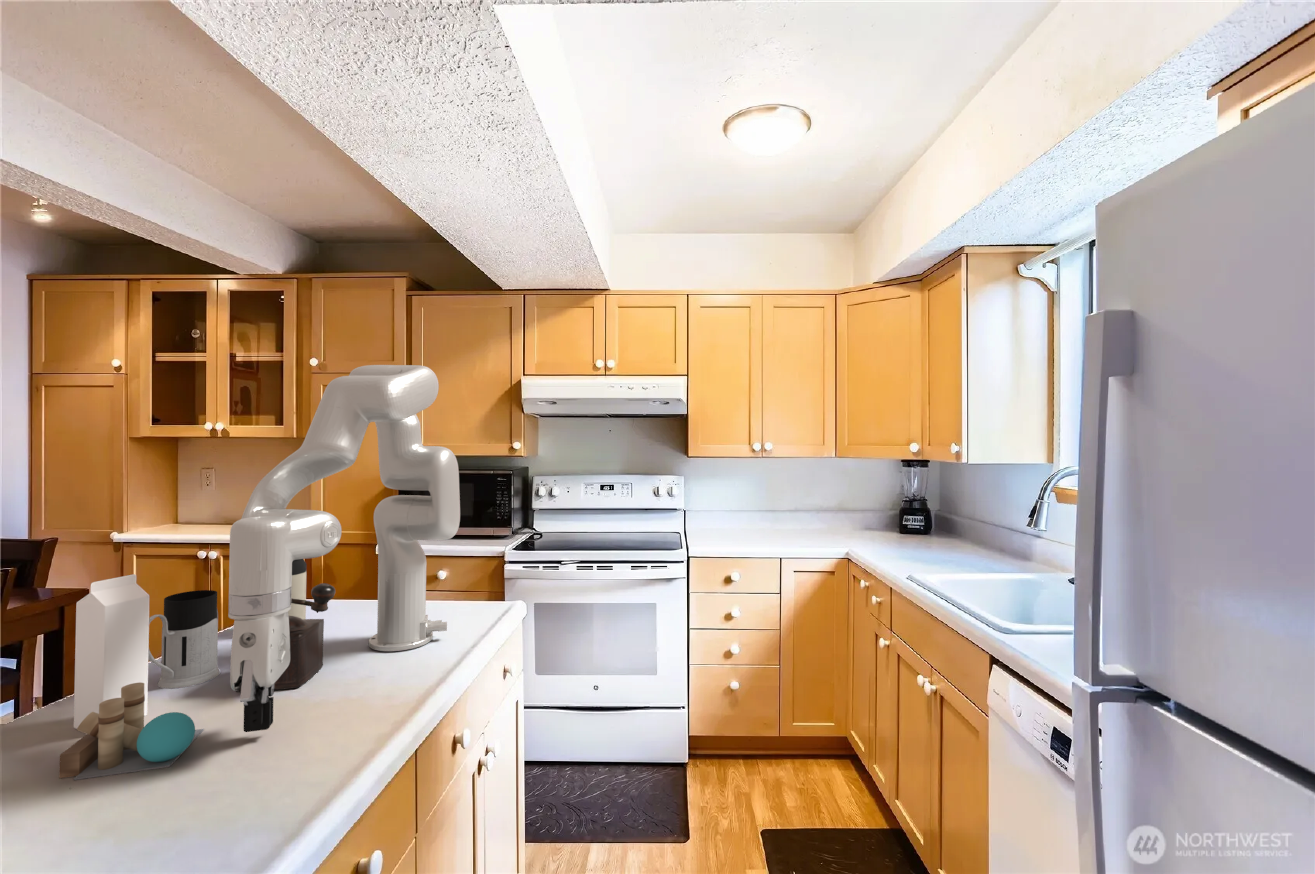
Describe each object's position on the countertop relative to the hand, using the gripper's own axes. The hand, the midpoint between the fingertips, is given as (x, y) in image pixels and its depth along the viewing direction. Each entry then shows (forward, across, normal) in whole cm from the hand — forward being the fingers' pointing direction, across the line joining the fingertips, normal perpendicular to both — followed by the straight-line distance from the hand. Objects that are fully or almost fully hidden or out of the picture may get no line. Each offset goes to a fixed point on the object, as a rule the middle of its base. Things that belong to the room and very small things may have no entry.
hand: (258, 727), depth 82 cm
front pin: (0, 0, +13) cm, 13 cm away
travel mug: (+2, +52, +11) cm, 53 cm away
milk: (+2, +12, +23) cm, 26 cm away
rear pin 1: (+2, -2, +16) cm, 16 cm away
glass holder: (+2, +25, +20) cm, 32 cm away
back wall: (+2, 0, +20) cm, 20 cm away
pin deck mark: (+2, 0, +14) cm, 14 cm away
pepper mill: (+2, +22, +1) cm, 22 cm away
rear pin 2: (+2, +2, +16) cm, 16 cm away
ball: (-2, -3, +10) cm, 10 cm away
